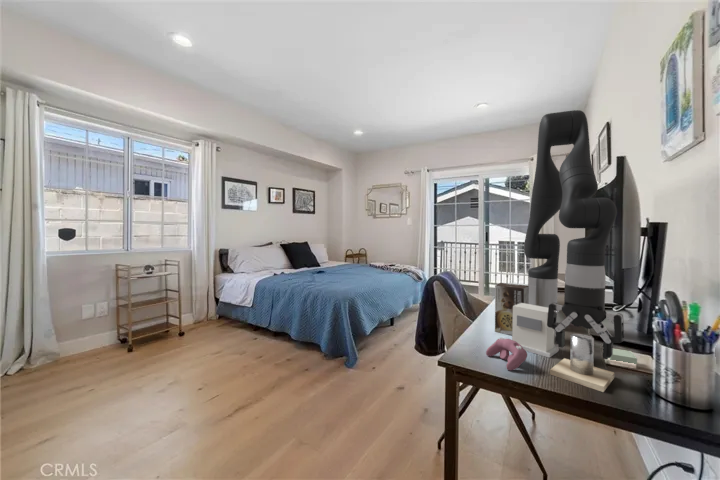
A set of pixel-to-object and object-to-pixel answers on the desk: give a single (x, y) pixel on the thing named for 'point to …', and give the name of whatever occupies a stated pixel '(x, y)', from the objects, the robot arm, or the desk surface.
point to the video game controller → (504, 348)
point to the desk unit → (533, 329)
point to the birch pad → (583, 376)
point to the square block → (623, 356)
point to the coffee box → (508, 304)
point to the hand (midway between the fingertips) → (582, 352)
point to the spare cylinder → (582, 354)
